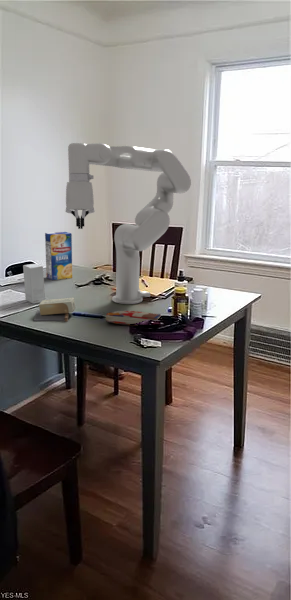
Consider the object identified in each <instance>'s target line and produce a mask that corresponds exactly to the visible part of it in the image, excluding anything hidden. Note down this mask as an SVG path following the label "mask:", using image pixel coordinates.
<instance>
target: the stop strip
mask: <svg viewBox="0 0 291 600" xmlns="http://www.w3.org/2000/svg"><path fill="white" fill-rule="evenodd" d="M69 315H70V313H65V321H64V323H65V322H66V323H67V322H68V321H69V317H70V316H69Z"/></svg>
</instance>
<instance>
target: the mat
mask: <svg viewBox="0 0 291 600" xmlns="http://www.w3.org/2000/svg"><path fill="white" fill-rule="evenodd" d="M33 322H65V313H61V314H50V315H41V314H40V309H39V310H37V311H36V314H35V316H34V318H33Z"/></svg>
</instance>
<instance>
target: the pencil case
mask: <svg viewBox="0 0 291 600" xmlns="http://www.w3.org/2000/svg"><path fill="white" fill-rule="evenodd" d="M161 316H162V315H161V313H153V312H145V311H138V310H118V311H117V310H116V311H111V312H107V313H106V316H105V321H106V322H108V323H113V324H117V325H123V326H124V325H125V326H131V325H130V324H136V323H139V322H142V321H145V320H158V319H159V318H160V317H161ZM161 318H162V317H161Z"/></svg>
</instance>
